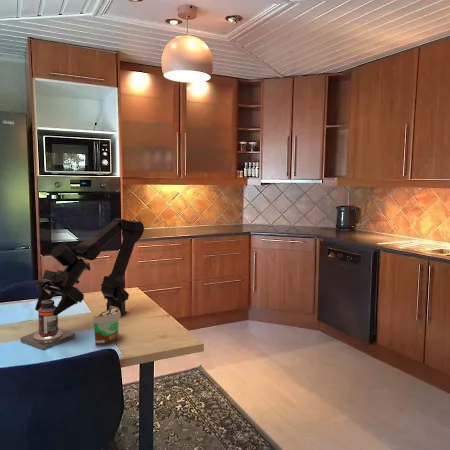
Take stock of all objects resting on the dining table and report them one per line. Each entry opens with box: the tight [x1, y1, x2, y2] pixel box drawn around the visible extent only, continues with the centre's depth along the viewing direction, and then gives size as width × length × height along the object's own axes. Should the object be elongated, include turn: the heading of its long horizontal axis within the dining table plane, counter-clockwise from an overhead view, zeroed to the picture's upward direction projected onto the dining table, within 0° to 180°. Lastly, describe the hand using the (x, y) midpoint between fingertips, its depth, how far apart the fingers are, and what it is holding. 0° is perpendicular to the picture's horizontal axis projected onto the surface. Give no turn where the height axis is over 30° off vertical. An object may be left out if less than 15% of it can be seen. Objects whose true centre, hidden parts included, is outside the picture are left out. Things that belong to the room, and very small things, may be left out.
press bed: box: [20, 327, 76, 351], centre depth 137 cm, size 12×12×2 cm
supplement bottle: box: [37, 299, 59, 337], centre depth 136 cm, size 6×6×11 cm
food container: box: [92, 306, 122, 346], centre depth 137 cm, size 12×6×10 cm, turn 168°
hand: (44, 312), depth 135 cm, fingers open, 9 cm apart
